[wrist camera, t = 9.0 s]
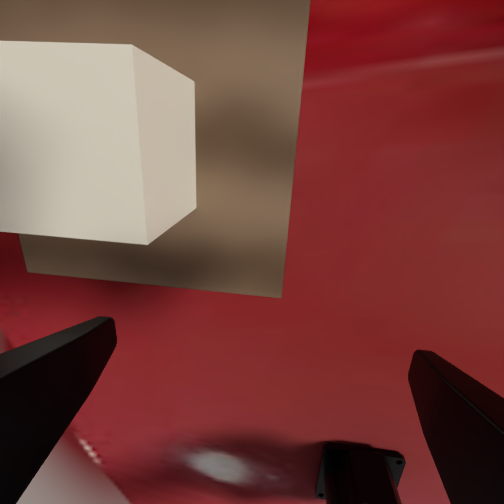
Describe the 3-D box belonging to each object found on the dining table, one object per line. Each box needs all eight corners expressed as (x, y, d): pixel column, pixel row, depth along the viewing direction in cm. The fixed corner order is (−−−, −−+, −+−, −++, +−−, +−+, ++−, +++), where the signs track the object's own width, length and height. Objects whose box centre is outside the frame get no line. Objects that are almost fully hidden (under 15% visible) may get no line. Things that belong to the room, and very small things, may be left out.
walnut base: (282, 276, 20) (281, 298, 18) (61, 254, 22) (27, 272, 19) (311, -23, 15) (316, -61, 12) (7, -25, 16) (-53, -59, 13)
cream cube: (196, 208, 16) (147, 244, 11) (91, 199, 17) (-8, 230, 11) (194, 81, 14) (131, 44, 8) (73, 76, 15) (-60, 39, 9)
